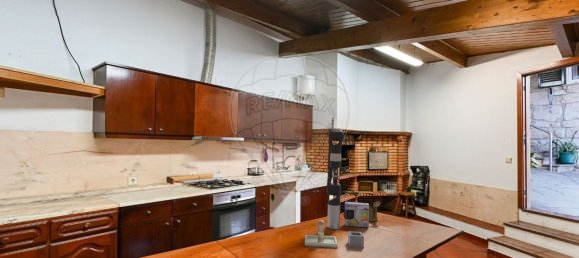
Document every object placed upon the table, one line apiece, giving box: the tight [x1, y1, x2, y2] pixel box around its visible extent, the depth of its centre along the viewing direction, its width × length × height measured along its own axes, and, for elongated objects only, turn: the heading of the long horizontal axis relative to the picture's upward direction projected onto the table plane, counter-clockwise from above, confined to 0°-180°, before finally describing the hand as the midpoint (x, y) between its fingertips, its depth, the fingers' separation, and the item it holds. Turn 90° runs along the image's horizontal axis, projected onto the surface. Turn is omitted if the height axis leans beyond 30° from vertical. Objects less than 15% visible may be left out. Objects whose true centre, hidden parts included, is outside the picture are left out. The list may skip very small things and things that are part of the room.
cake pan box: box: [343, 201, 370, 228], centre depth 229 cm, size 19×5×18 cm, turn 73°
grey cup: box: [347, 230, 365, 249], centre depth 187 cm, size 9×9×7 cm
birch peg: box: [317, 219, 325, 242], centre depth 189 cm, size 4×4×13 cm
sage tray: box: [304, 234, 338, 249], centre depth 188 cm, size 14×20×2 cm
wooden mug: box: [369, 200, 381, 223], centre depth 245 cm, size 9×14×18 cm, turn 13°
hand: (334, 184), depth 200 cm, fingers open, 8 cm apart
